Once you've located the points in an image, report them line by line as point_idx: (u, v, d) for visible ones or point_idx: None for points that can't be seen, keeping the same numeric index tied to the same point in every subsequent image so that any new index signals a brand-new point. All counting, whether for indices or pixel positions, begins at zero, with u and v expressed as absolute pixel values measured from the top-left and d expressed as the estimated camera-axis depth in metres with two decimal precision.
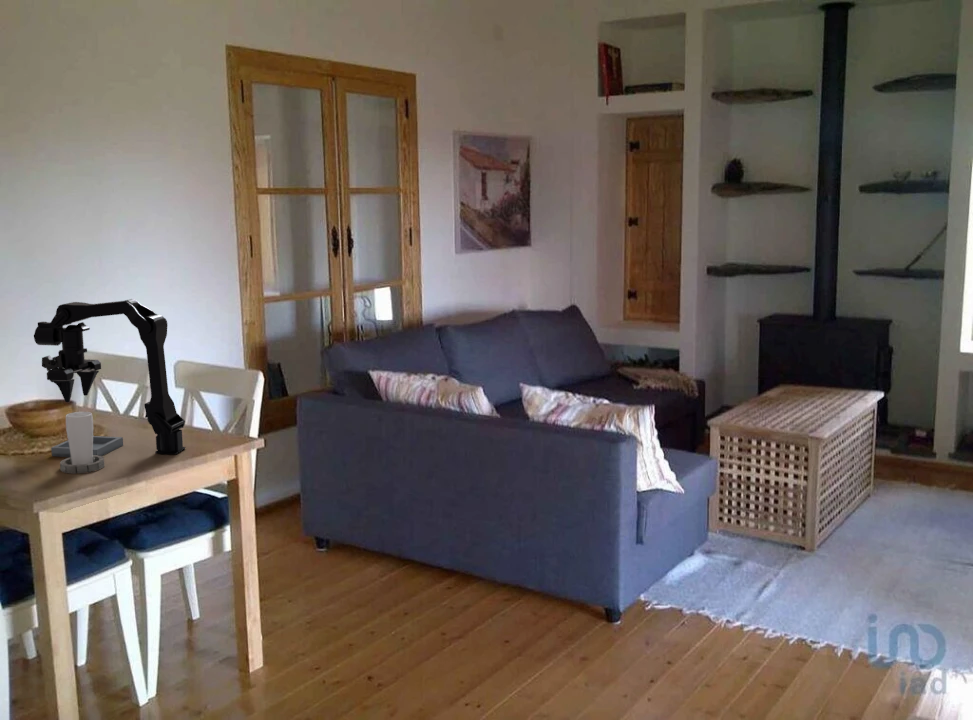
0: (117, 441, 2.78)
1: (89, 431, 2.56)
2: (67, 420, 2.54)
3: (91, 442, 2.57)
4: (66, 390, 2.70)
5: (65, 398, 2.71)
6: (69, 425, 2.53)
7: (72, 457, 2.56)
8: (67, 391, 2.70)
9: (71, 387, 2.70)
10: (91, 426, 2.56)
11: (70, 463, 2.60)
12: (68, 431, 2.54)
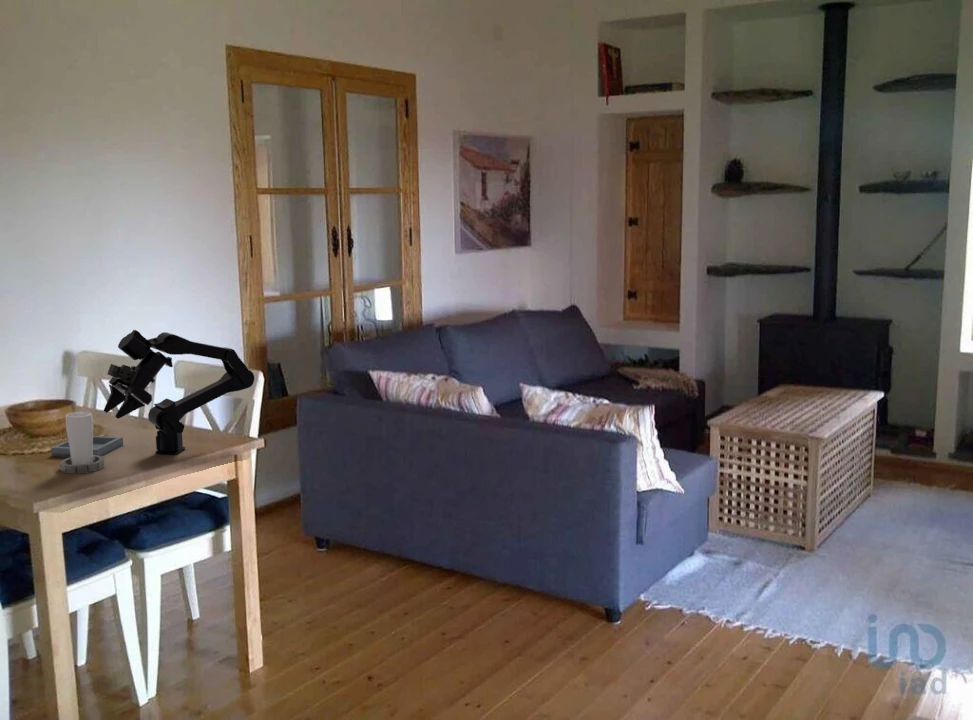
0: (117, 441, 2.78)
1: (89, 431, 2.56)
2: (67, 420, 2.54)
3: (91, 442, 2.57)
4: (128, 409, 2.59)
5: (119, 414, 2.59)
6: (69, 425, 2.53)
7: (72, 457, 2.56)
8: (128, 410, 2.59)
9: None
10: (91, 426, 2.56)
11: (70, 463, 2.60)
12: (68, 431, 2.54)
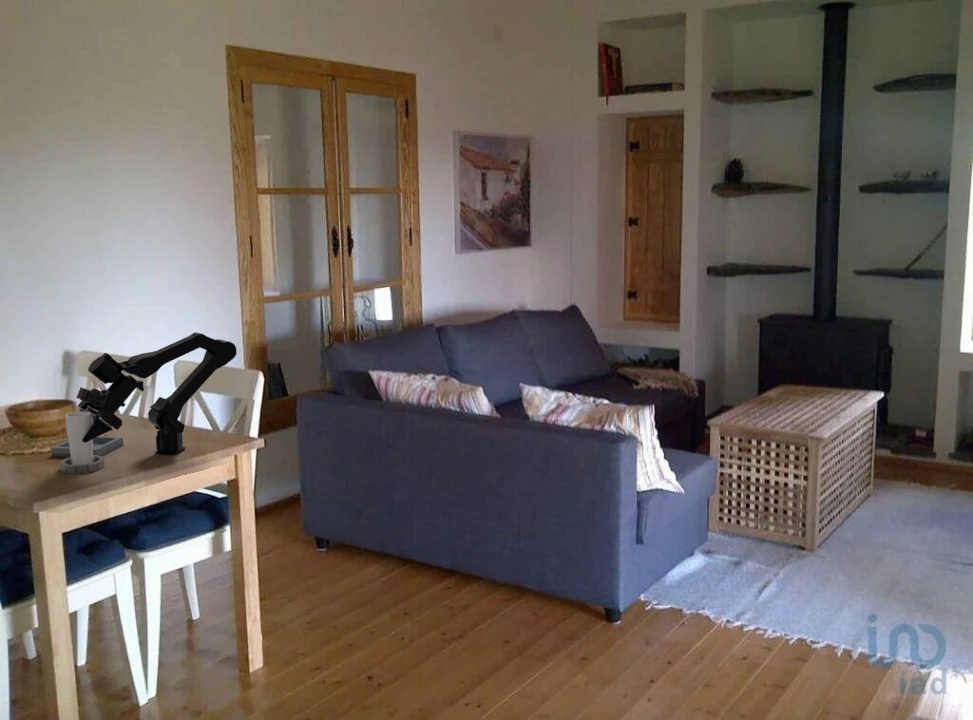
0: (117, 441, 2.78)
1: None
2: (67, 420, 2.54)
3: (91, 442, 2.57)
4: (96, 433, 2.55)
5: (86, 438, 2.54)
6: (69, 425, 2.53)
7: (72, 457, 2.56)
8: (96, 434, 2.55)
9: None
10: None
11: (70, 463, 2.60)
12: (68, 431, 2.54)
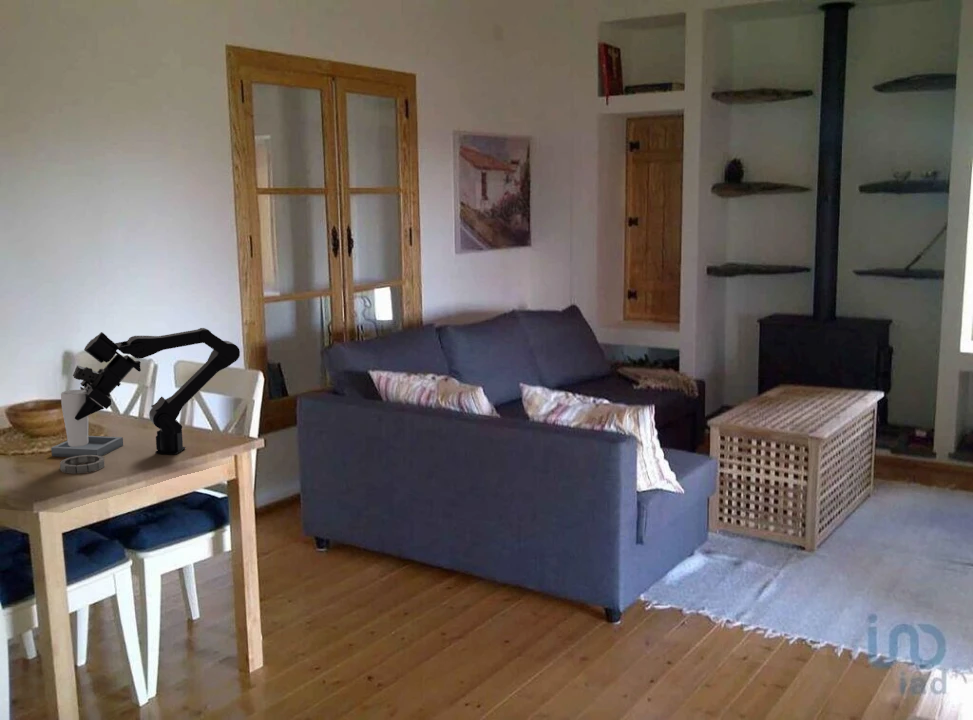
0: (117, 441, 2.78)
1: None
2: (61, 397, 2.58)
3: (85, 420, 2.60)
4: (88, 411, 2.58)
5: (78, 415, 2.57)
6: (63, 402, 2.57)
7: (67, 434, 2.60)
8: (88, 412, 2.58)
9: None
10: None
11: (70, 463, 2.60)
12: (62, 408, 2.58)
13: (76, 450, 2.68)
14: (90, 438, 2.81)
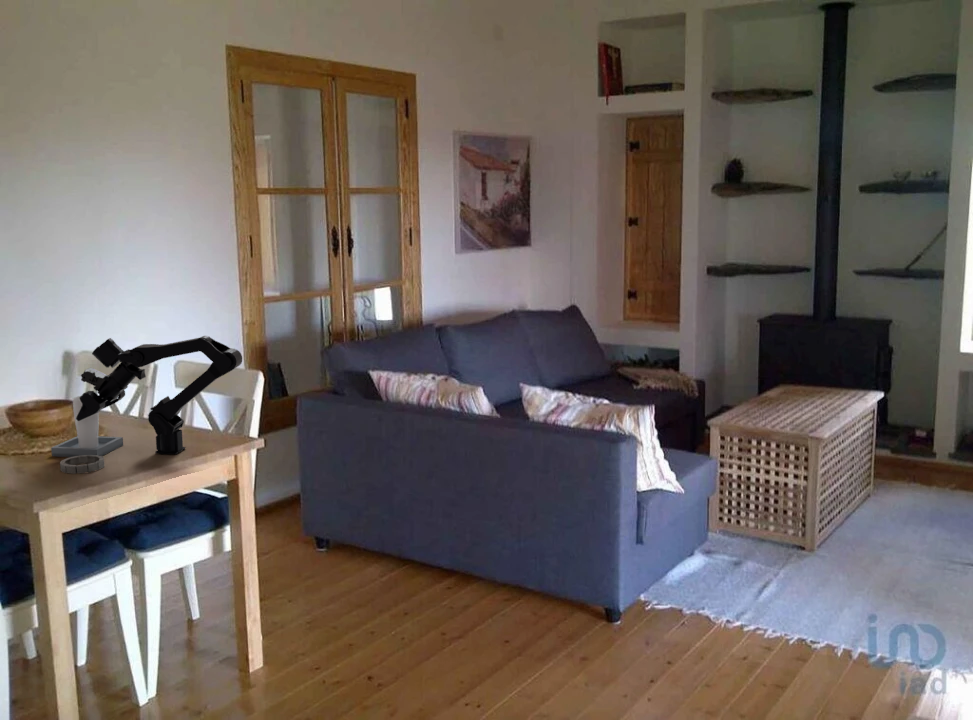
0: (117, 441, 2.78)
1: None
2: None
3: (90, 426, 2.72)
4: (85, 413, 2.67)
5: (78, 416, 2.68)
6: (73, 406, 2.72)
7: None
8: (85, 415, 2.68)
9: None
10: None
11: (70, 463, 2.60)
12: None
13: (76, 450, 2.68)
14: None
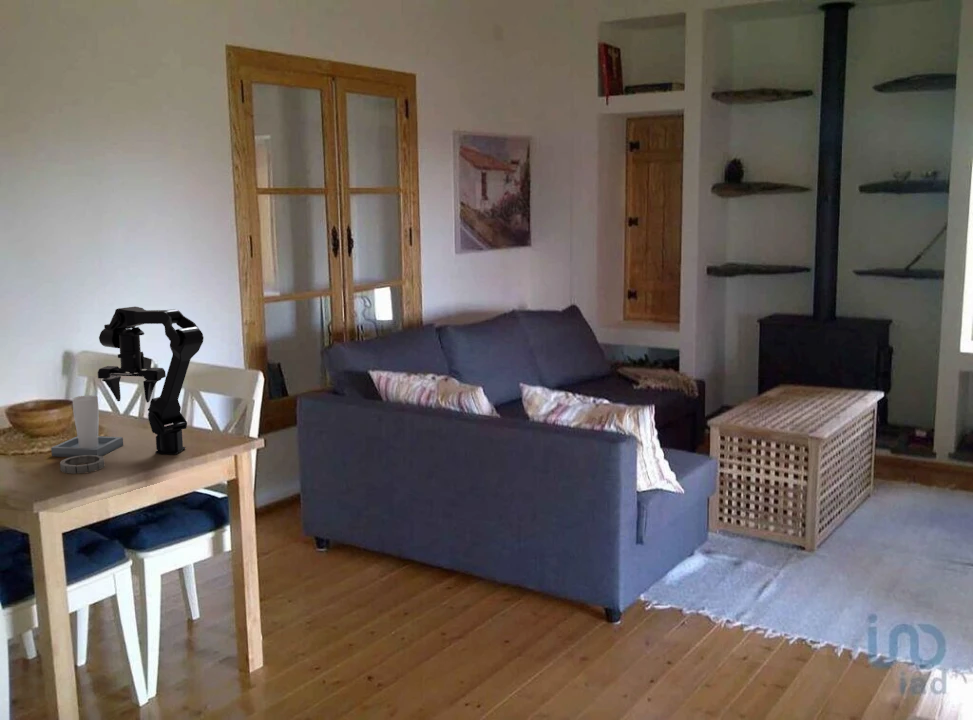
0: (117, 441, 2.78)
1: (86, 415, 2.70)
2: None
3: (90, 425, 2.72)
4: None
5: None
6: (73, 406, 2.72)
7: None
8: None
9: (110, 387, 2.78)
10: (89, 410, 2.70)
11: (70, 463, 2.60)
12: None
13: (76, 450, 2.68)
14: None
